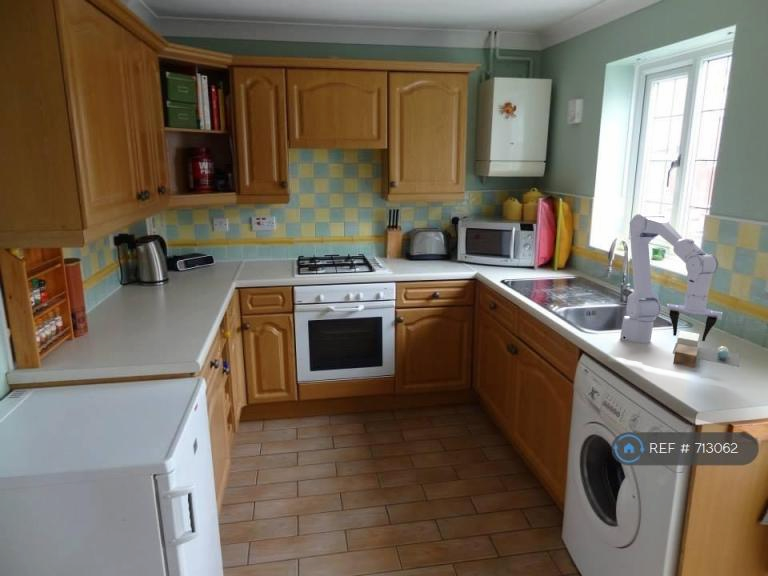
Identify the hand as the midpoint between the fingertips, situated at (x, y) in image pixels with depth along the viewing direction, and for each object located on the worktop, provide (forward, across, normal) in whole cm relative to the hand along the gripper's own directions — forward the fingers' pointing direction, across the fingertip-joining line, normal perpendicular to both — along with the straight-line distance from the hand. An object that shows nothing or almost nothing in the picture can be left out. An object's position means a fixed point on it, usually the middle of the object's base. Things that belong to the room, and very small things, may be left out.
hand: (688, 337), depth 163 cm
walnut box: (+9, 0, 0) cm, 9 cm away
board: (+9, +5, +11) cm, 15 cm away
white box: (+8, 0, +11) cm, 14 cm away
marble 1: (+8, +10, +13) cm, 18 cm away
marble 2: (+8, +10, +10) cm, 16 cm away
